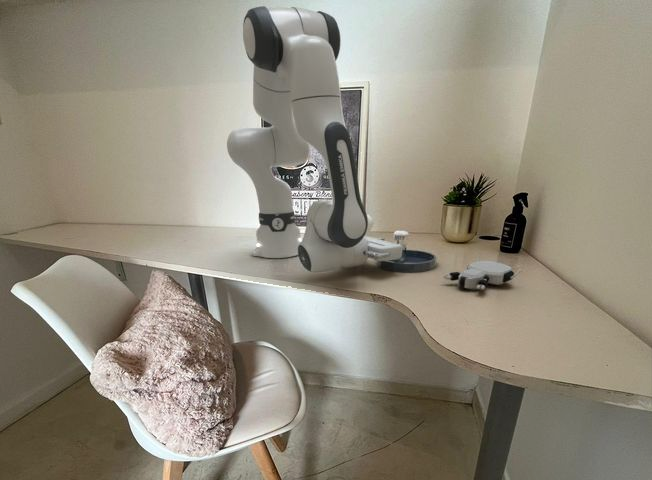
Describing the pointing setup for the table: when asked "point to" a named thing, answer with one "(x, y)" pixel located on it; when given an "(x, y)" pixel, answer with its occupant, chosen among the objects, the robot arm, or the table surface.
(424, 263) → the blue round tray
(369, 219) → the lightbulb
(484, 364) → the table surface
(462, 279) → the robot toy
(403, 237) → the salt shaker
